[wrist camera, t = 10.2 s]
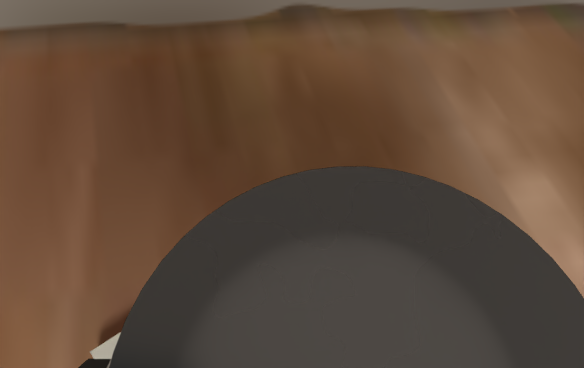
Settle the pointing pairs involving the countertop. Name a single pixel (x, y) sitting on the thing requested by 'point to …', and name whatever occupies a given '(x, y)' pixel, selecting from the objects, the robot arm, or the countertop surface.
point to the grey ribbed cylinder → (355, 283)
